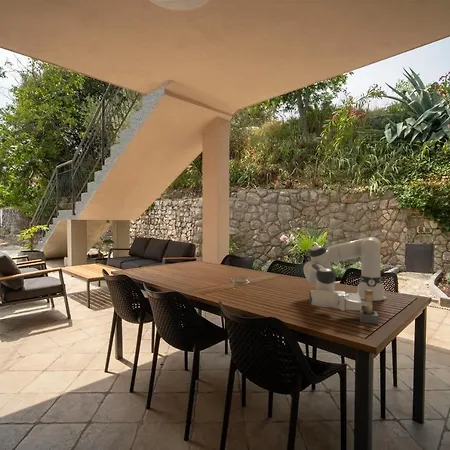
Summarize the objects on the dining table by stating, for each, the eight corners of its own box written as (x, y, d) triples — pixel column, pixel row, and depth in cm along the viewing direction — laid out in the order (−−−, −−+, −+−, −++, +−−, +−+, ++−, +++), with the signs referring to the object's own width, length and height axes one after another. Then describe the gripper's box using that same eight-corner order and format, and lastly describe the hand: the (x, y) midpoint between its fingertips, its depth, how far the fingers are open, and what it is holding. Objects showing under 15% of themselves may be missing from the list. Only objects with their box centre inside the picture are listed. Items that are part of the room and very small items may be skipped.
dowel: (364, 314, 164) (364, 289, 164) (372, 315, 163) (372, 289, 162) (364, 316, 161) (365, 290, 160) (372, 317, 159) (373, 291, 159)
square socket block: (359, 317, 167) (359, 309, 167) (376, 318, 164) (376, 311, 164) (360, 322, 159) (360, 314, 159) (378, 324, 157) (378, 315, 157)
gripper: (341, 300, 176) (368, 303, 171) (341, 311, 156) (372, 314, 152) (341, 289, 175) (368, 291, 171) (341, 298, 156) (372, 301, 152)
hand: (370, 302), depth 161 cm, fingers closed on dowel, 4 cm apart
